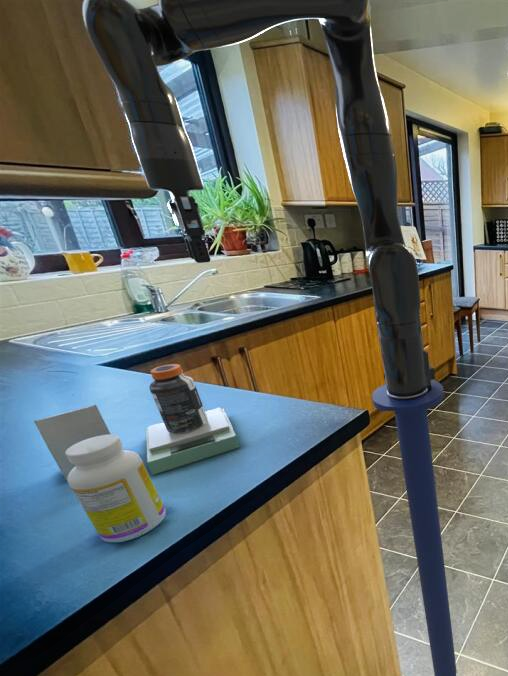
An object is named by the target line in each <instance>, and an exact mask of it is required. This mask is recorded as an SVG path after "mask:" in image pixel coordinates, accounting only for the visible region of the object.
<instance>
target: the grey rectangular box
mask: <svg viewBox="0 0 508 676" xmlns="http://www.w3.org/2000/svg"><path fill="white" fill-rule="evenodd" d="M33 423H34V424H35V427H36V428H37V430H38V432H39V434H40V436H41V438H42V439H43V442H44V444H45V445H46V447H47V450H49V452H50V454H51V456H52V458H53V460H54V462H55V463H56V465H57V467H58V468H59V470H60V472H61V474H62V475H63V477H64V479H65V481H66V482H68V480H67V478H68V475H69V473H70V471H71V470H72V469H73V468H74V467H75V465H74V464H72V463H71V462H69V460H68V458H67V456H66V454H65V452H66V450H67V449H68V448H69V447H71V446H73V445H74V444H76V443H78V442H81V441H83V440H86V439H89V438H92V437H96V436H101V435H112V433H111V432H110V430H109V428H108V426H107V423H106V422H105V420H104V418H103V416H102V414H101V412H100V409H99V408H98V406H97V404H94V405H89V406H86V407H85V406H84V407H82V408H77V409H75V410H70V411H65V412H63V413H59V414H54V415H50V416H47V417H44V418H40V419H36V420H33Z"/></svg>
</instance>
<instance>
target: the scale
mask: <svg viewBox="0 0 508 676" xmlns="http://www.w3.org/2000/svg"><path fill="white" fill-rule="evenodd" d="M205 413H206V415H207V418H208V421H207V423H206V424H205V425H203V426H202V427H200V428H198V429H195V430H193V431H189V432H185V433H170V432H168V431H167V429H166V426H165V424H164V422H159V423H155V424H150V425H148V426H147V428H146V429H145V445H146V447H145V448H146V451H145V452H146V464H147V466H148V468H149V471H150V473H151V475H153V476H154V475H157V474H160V473H163V472H167V471H170V470H173V469H176V468H179V467H182V466H185V465H190V464H192V463H195V462H198V461H201V460H205V459H208V458H210V457H214V456H217V455H220V454H224V453H226V452H230V451H233V450H236V449H240V448H241V444H240V443H239V439H238V437H237V434H236V432H235V429H234V427H233V425H232V423H231V421H230V418H229V416H228V414H227V412H226V410H225V408H221V406H220V407H216V408H212V409H209V410H205Z"/></svg>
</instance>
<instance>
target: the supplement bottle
mask: <svg viewBox="0 0 508 676" xmlns="http://www.w3.org/2000/svg"><path fill="white" fill-rule="evenodd" d="M65 454H66V456H67V458H68V460H69V462H71V463H72V464H74V465H75V467H74V468H73V469H72V470H71V471H70V473H69V475H68V478H67V480H68V481H67V480H66V481H67V484H68V485H69V487H70V489H71V490H72V492H73V494H74V495H75V497H76V499H77V500H78V502H79V504H80V505H81V507H82V509H83V510H84V512H85V513H86V516H87V517H88V519H89V520H90V522H91V524H92V526H93V527H94V529H95V531H96V533H97V534H98V535H99V537H100V539H101V540H102V541H104V542H106V543H123V542H127V541H131V540H134V539H136V538H138V537H141V536H144V535H145V534H147V533H149V532H150V531H152V530H154V529H155V528H156V527H157V526H159V524H161V522H162V521H163V520H164V518H165V517H166V514H167V510H166V507H165V505H164V503H163V501H162V499H161V496H160V495H159V493H158V490H157V489H156V487H155V484H154V482H153V481H152V479H151V476H150V474H149V472H148V470H147V468H146V466H145V463H144V462H143V460H142V458H141V455H139V454H138V453H137V452H135V451H133V450H129V449H123V442H122V441H121V438H120V437H119V435H116V434H111V435H101V436H96V437H92V438H89V439H86V440H83V441H81V442H78V443H76V444H74V445H73V446H71V447H69V448H68V449H67V450H66V452H65Z"/></svg>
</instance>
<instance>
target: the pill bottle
mask: <svg viewBox="0 0 508 676" xmlns="http://www.w3.org/2000/svg"><path fill="white" fill-rule="evenodd" d="M150 375H151V377H152V379H153V380H154V381H152V382H151V383H150V384H149V391H150V393H151V396H152V398H153V401H154V403H155V406H156V407H157V409H158V412H159V414H160V417H161V418H162V421H163V422H164V424H165V426H166V429H167V431H168V432H170V433H185V432H189V431H193V430H195V429H198V428H200V427H202V426H203V425H205V424H206V423H207V421H208V418H207V415H206V413H205V411H206V410H205V407H204V405H203V402H202V400H201V397H200V394H199V391H198V389H197V387H196V383H195V380H194V378H193V377H191V376H190V375H188V374H184V370H183V369H182V366H181V364H178V363H171V364H163V365H160V366H157V367H154V368H152V369H151V370H150Z"/></svg>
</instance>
